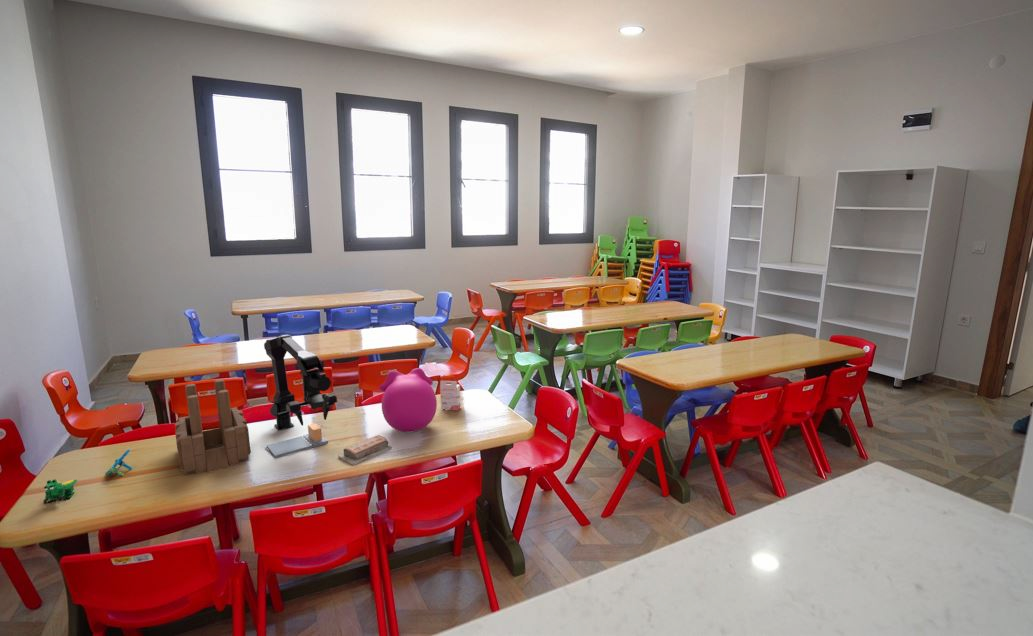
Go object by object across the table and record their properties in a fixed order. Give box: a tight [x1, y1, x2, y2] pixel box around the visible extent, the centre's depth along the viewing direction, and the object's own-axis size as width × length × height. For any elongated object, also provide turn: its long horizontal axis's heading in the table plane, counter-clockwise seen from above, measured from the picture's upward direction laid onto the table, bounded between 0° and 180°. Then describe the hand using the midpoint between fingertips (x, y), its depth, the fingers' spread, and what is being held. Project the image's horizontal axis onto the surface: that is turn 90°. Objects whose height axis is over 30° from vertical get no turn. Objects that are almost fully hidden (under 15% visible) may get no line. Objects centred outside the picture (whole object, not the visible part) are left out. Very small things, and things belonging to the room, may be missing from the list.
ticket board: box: [265, 435, 314, 459], centre depth 206 cm, size 12×14×1 cm
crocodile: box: [42, 478, 78, 505], centre depth 172 cm, size 20×6×9 cm, turn 25°
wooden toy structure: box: [174, 378, 252, 476], centre depth 198 cm, size 23×30×27 cm
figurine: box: [378, 367, 438, 433], centre depth 221 cm, size 23×24×25 cm
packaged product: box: [337, 434, 393, 466], centre depth 201 cm, size 18×5×10 cm
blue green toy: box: [105, 448, 133, 477], centre depth 188 cm, size 11×6×10 cm
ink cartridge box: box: [439, 380, 462, 411], centre depth 245 cm, size 9×5×15 cm, turn 80°
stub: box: [302, 422, 329, 448], centre depth 212 cm, size 12×6×6 cm, turn 40°
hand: (313, 422), depth 212 cm, fingers open, 9 cm apart
